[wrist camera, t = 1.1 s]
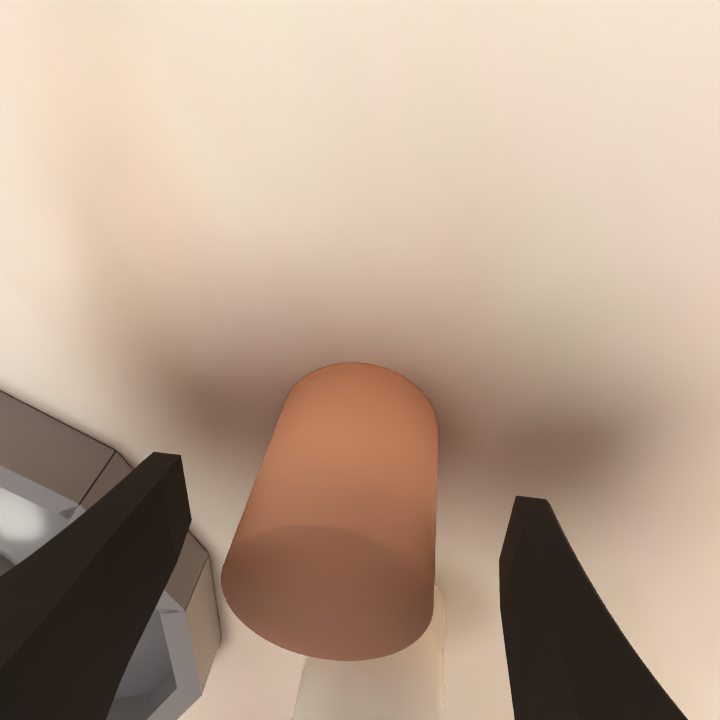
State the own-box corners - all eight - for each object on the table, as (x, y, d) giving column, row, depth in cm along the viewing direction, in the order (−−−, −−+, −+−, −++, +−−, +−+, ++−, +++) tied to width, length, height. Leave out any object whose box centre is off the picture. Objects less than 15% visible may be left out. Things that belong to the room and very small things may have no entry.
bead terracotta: (429, 493, 16) (422, 673, 12) (284, 476, 17) (229, 645, 13) (447, 371, 14) (446, 540, 10) (279, 354, 14) (211, 510, 10)
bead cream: (437, 646, 20) (433, 823, 16) (318, 629, 20) (285, 799, 16) (452, 569, 18) (452, 752, 14) (319, 552, 18) (280, 725, 14)
